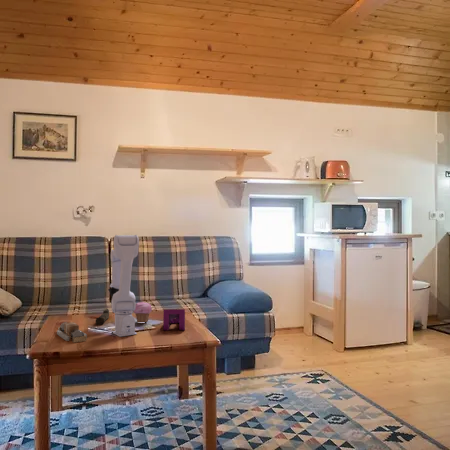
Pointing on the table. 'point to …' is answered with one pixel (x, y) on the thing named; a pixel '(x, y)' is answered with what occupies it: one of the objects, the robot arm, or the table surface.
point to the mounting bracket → (170, 316)
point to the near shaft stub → (77, 336)
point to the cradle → (66, 335)
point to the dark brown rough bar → (102, 317)
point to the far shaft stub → (61, 327)
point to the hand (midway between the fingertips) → (118, 304)
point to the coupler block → (70, 328)
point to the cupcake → (142, 311)
